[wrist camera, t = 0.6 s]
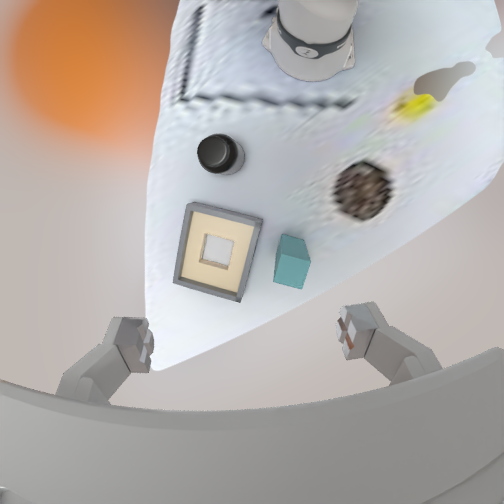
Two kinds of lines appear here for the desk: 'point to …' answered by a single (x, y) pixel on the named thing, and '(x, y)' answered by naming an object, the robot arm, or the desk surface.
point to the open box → (210, 273)
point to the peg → (291, 262)
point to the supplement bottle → (220, 154)
